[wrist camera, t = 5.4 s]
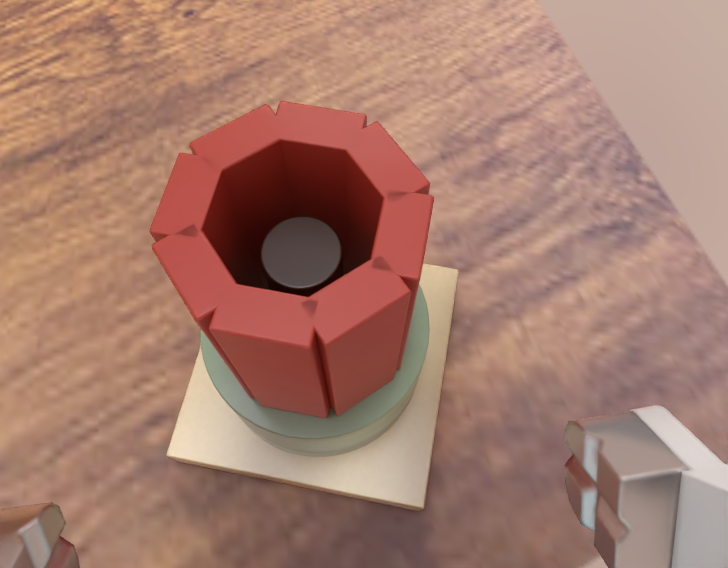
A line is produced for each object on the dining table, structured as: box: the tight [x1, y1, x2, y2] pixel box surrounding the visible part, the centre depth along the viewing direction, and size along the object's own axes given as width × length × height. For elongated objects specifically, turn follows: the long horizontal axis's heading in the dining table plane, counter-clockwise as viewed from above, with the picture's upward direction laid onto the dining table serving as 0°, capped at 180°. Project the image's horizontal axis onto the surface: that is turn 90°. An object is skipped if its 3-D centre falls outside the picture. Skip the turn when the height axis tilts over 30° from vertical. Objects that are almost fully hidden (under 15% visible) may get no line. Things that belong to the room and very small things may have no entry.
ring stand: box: [166, 216, 459, 511], centre depth 21 cm, size 10×10×11 cm
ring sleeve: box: [150, 101, 434, 418], centre depth 18 cm, size 6×6×8 cm
